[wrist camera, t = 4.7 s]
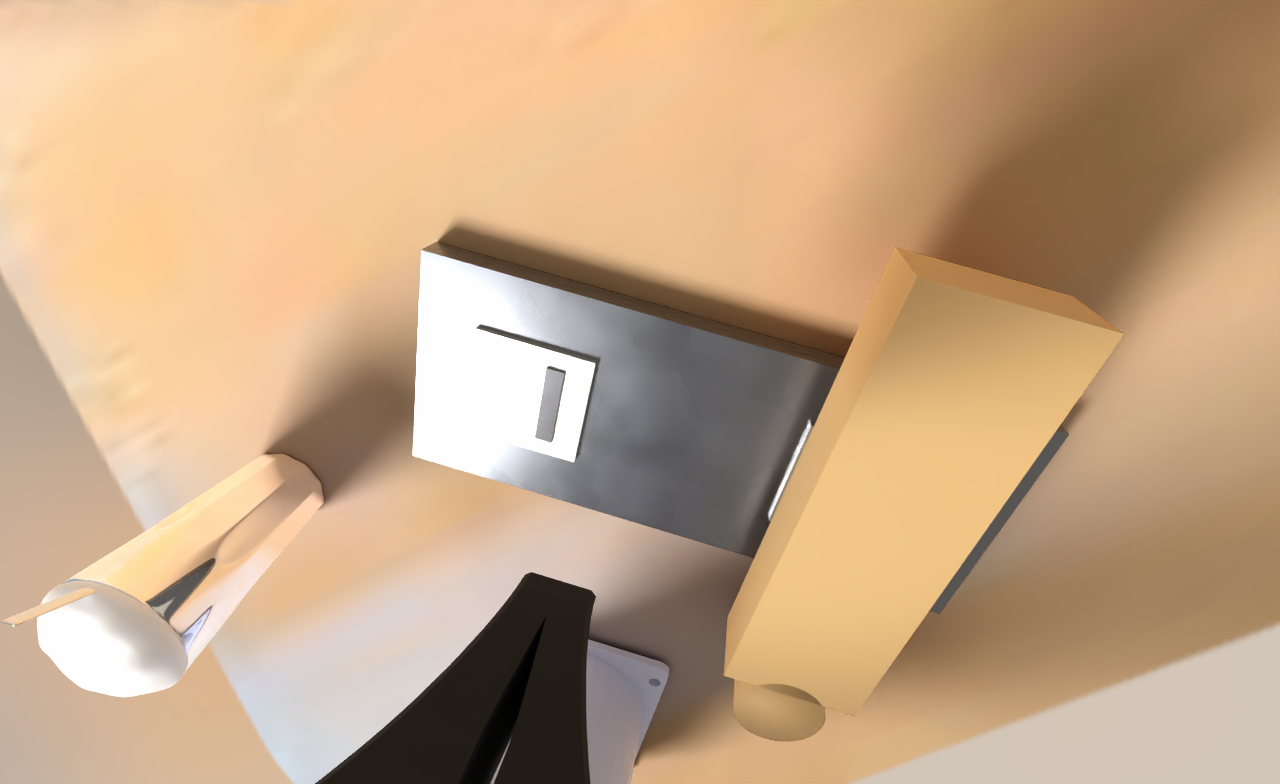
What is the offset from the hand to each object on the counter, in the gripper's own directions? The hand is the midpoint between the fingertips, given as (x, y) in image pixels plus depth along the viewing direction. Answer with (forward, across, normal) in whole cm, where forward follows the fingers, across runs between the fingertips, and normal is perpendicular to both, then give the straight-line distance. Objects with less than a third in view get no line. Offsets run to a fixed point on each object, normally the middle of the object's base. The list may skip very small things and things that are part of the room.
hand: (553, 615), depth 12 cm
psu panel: (+10, -2, +1) cm, 10 cm away
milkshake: (+10, +14, +9) cm, 19 cm away
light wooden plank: (+8, -7, +1) cm, 11 cm away
